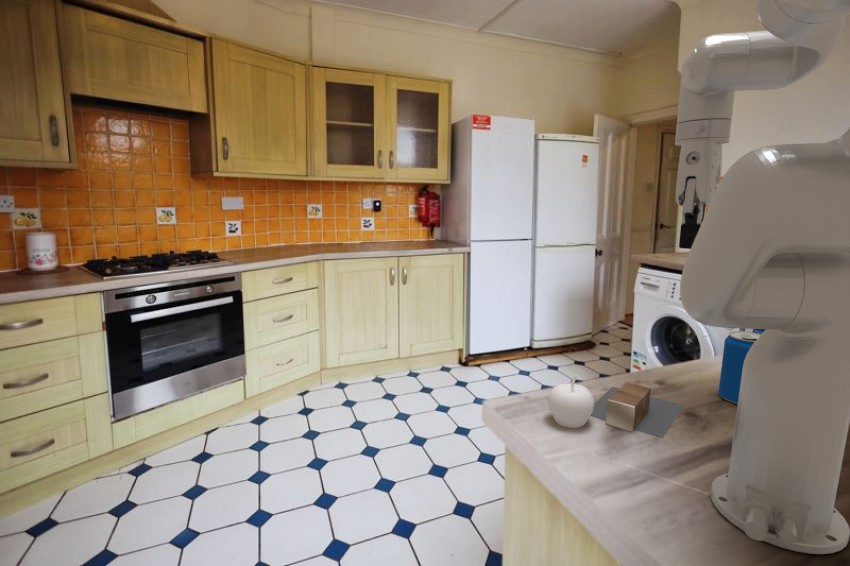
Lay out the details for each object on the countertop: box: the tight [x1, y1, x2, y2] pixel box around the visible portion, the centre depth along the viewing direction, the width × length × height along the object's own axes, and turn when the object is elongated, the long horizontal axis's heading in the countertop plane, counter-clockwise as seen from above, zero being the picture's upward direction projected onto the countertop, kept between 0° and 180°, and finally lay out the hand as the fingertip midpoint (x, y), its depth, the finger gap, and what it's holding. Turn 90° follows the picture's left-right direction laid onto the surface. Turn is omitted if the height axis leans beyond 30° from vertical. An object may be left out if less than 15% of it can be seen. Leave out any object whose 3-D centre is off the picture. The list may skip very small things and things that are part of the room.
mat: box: [590, 386, 685, 439], centre depth 77 cm, size 14×12×1 cm
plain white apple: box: [547, 375, 595, 429], centre depth 73 cm, size 7×7×8 cm
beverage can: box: [717, 330, 762, 405], centre depth 80 cm, size 6×6×12 cm
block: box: [605, 381, 652, 433], centre depth 74 cm, size 4×4×9 cm
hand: (690, 248), depth 77 cm, fingers closed
